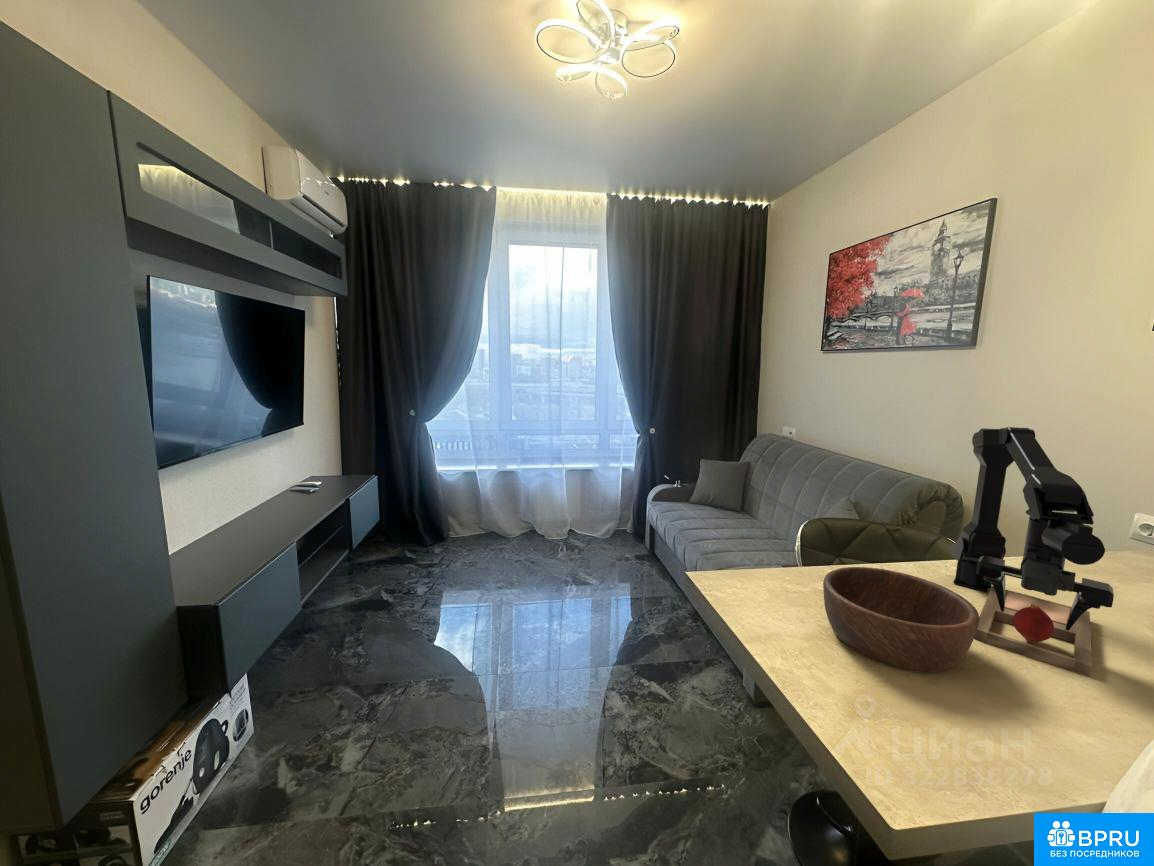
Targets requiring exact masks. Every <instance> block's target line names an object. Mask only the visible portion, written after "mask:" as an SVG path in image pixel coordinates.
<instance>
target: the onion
mask: <svg viewBox="0 0 1154 866" xmlns="http://www.w3.org/2000/svg"><path fill="white" fill-rule="evenodd" d="M1012 626H1014V628H1015V630H1016V632H1018V633H1019V634H1020V635H1021V636H1022V637H1023V638H1024V639H1025V640H1026V642H1027V643H1028V642H1029V643H1031V644H1033V643H1040V642H1044V641H1046V640H1050V638H1051V637H1052V635H1053V633H1054V625H1053V622H1052V620H1051V618H1050V617H1049V616H1048V615H1047V614H1046V613H1045V612H1044V611H1043V610H1042V609H1041V608H1040V607H1039V606H1038V605H1037V604H1034V603H1032V604H1031V607H1026V608H1023V609H1021V610H1019V611H1017V612H1016V613H1015V614H1014V617H1013V625H1012Z"/></svg>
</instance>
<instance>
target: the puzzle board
mask: <svg viewBox="0 0 1154 866" xmlns="http://www.w3.org/2000/svg"><path fill="white" fill-rule="evenodd" d="M1032 603H1034V604H1037V605H1038V606H1039V607H1040V608H1041V609H1042V610H1043V611H1044V612H1045V613H1046V614H1047V615H1048V616H1049V617H1050V618H1051V620H1052V622H1053V625H1054V633H1053V635H1052V636H1051V637H1053V638H1056V639H1058V640H1063V641H1066V642H1070V643H1072V644H1074V645H1073V657H1071V656H1068V655H1065V654H1062V653H1059V652H1055V651H1053V650H1049V649H1046V648H1042V647H1040V646H1037V645H1033V644H1032V643H1031V644H1029V643H1028V642H1024V641H1020V640H1017V639H1014V638H1011V637H1008V636H1005V635H1002V634H999V633H995V632H993V631H991V629H992V626H993V624H994V621H995V620H996V621H999V622H1002V623H1006V624H1010V625H1011V626H1014V625H1013V617H1014V614H1015V613H1016V612H1017V611H1019V610H1021V609H1023V608H1026V607H1031V604H1032ZM1071 608H1072V606H1069V605H1065V604H1062V603H1058V602H1054V601H1052V600H1051V601H1050V600H1048V599H1043V598H1039V597H1036V596H1032V595H1027V594H1024V593H1019V592H1015V591H1013V590H1008V589H1005V608H1004V612H1002V611H1001V609H1000V606H999V602H998V598H997V595H996V592H995V589H994V587H993V585H992V586H991V588H990V590H989V592H988V595H987V598H986V599H985V603H984V604H983V606H982V609H981V612H980V615H979V619H980V620H979V625H978V628H977V631H976V634H975V637H974V639H973V640H978V641H979V642H980V641H981V642H984V643H988V644H990V645H993V646H995V647H999V648H1002V649H1005V650H1009V651H1011V652H1013V653H1017V654H1020V655H1024V656H1026V657H1029V658H1033V659H1036V660H1039V661H1042V662H1044V663H1047V664H1050V665H1053V666H1056V667H1060V668H1063V669H1066V670H1068V671H1072V672H1075V673H1077V674H1080V675H1082V676H1083V675H1084V676H1086V677H1091V674H1092V668H1093V660H1092V659H1093V657H1092V654H1093V653H1092V636H1091V611H1089V610H1087V611H1085V612H1084V613H1083V614H1082V615H1081V616H1080V617H1079V618H1078V620H1077V621H1076V622H1075V623H1074V625H1073V626H1072V627H1071V628H1070V630H1069V631H1068V630H1066V623H1067V619H1068V616H1069V613H1070V610H1071Z"/></svg>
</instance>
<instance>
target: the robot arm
mask: <svg viewBox="0 0 1154 866" xmlns="http://www.w3.org/2000/svg"><path fill="white" fill-rule="evenodd" d="M971 439H972V440H971V443H972V446H973V455H974V456H975V457H976V459H977V460H978V462H979V471H978V476H977V477H978V478H977V484H976V489H975V490H976V491H975V498H974V504H973V510H972V518H971V521H969V523H968V524H966V525H965V526H964V527H963V528H962V530H961V532H960V536H959V537H958V539H957V540H956V541H955V542H954V543H953V544H952V545H951V547H950V555H951V557H953V559H955V560H956V562H957V564H956V568H955V569H956V570H955V577H954V580H953V581H952V583H953V584H954V585H959V586H962V587H965V588H969V589H973V590H977V591H981V592H985V593H987V592H988V591H989V589H991V587H992V586H993V587H994V589H995V592H996V595H997V598H998V602H999V606H1000V609H1001V611H1002V612H1004V608H1005V590H1006V576H1008V577H1013V578H1016V579H1021V581H1020V587H1021V588H1023V589H1024V590H1026V591H1033V592H1038V593H1042V594H1044V595H1046V596H1051V597H1053V596H1057V594H1058V591H1061V592H1070V593H1073V592H1074V593H1076V594H1075V596H1074V600H1073V602H1072V604H1071V607H1072V608H1071V610H1070V613H1069V616H1068V619H1067V623H1066V630H1068V631H1069V630H1070V628H1071V627H1072V626H1073V625H1074V623H1075V622H1076V621H1077V620H1078V618H1079V617H1080V616H1081V615H1082V614H1083V613H1084V612H1085V611H1089V610H1090V609H1092V608H1093V609H1101V607H1105V608H1112V607H1113V604H1114V597H1115V595H1114V588H1113V586H1111V584H1109V583H1107V582H1103V581H1098V580H1094V579H1090V578H1085V577H1082V578H1081V582H1078V581H1076V580H1075V579H1076V574H1077V573H1076V572H1073V571H1069V570H1066V569H1065V565H1066V560H1067V561H1068V562H1070V563H1073V564H1076V565H1079V566H1081V565H1082V566H1087V565H1089V566H1090V565H1093V564H1095V563H1097V562H1099V561H1100V560H1101V559H1102V558H1103V557H1104V555H1105V552H1106V548H1105V545H1104V543H1103V541H1102V540H1101V539H1100V537H1098V536H1096V535H1094V534H1093V531H1094V528H1093V526H1092V525H1094V520H1093V519H1094V518H1093V517H1094V512H1093V510H1092V507H1091V505H1090V504H1089V500H1088V499H1087V495H1086V493H1085V490H1083V488H1082V486H1081V485H1080V484H1079V483H1078V482H1077V481H1076V480H1075V479H1074V478H1073V477H1072V476H1071V475H1068V474H1065V473H1063V472H1062V471H1060V470H1058V469H1057V468H1056V467H1055V466H1054V463H1053V462H1052V461H1051V459H1050V458H1049V456H1048V455H1047V454H1046V452H1045V451H1044V449H1043V447H1042V446H1041V444H1040V443H1039V441H1038V440H1037V439H1036V432H1035V430H1034V429H1032V428H1028V427H1014V426H1006V427H1002V428H983V427H982V428H980V429H979V430H978V431H977V432H974V434H973V436H972V438H971ZM1014 462H1015V463H1014ZM1013 463H1014V464H1015V465H1016V467H1018V469H1019V470H1018V471H1020V473H1021V475H1022V476H1023V478H1024V480H1025V484H1024V487H1023V488H1022V493H1023V499H1024V501H1025V503H1026V505H1027V507H1028V509H1026V511H1025V514H1026V515H1027V516H1029V518H1028V524H1027V530H1026V536H1025V543H1024V549H1023V556H1022V560H1021V564H1020V568H1018V567H1015V566H1011V565H1010V566H1009V565H1006V559H1004V558H1005V555H1006V553H1007V549H1006V542H1007V539H1006V537H1005V536H1003V534H1002V532H1001V531H1000V529H999V527H998V525H999V520H1000V519H999V518H1000V513H1001V505H1002V499H1003V494H1004V487H1005V481H1006V474H1007V469H1008V468H1009V466H1011V465H1012V464H1013ZM1090 525H1091V526H1090Z"/></svg>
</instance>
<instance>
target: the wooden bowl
mask: <svg viewBox="0 0 1154 866" xmlns="http://www.w3.org/2000/svg"><path fill="white" fill-rule="evenodd" d="M822 585H823V586H822V587H823V588H822V589H823V602H824V609H825V614H826V617H827V620H828V622H829V625H830V626H831V628H832V630H833V632H834V633H835V635H836V636H837V637H838V638H839V639H840V641H842V642H843V643H844V644H845V645H847V647H849V648H850V649H851V650H853V651H855V652H856V653H858V654H860V655H862V656H864V657H866V658H868V659H870V660H872V661H875V662H877V663H879V664H883V665H886V666H889V667H891V668H896V669H899V670H904V671H908V672H909V671H910V672H915V673H916V672H917V673H937V672H943V671H946V670H949V669H952V668H953V667H954V666H956V665H957V664H959V662H960V661H961V660H962V659H963V658H965V656H966V654H968V652H969V650H970V648H971V646H972V645H973V644H972V643H973V642H974V640H975V639H974V637H975V634H976V631H977V628H978V625H979V620H980V619H979V616H980V615H979V612H978V610H977V608H975V606H974V605H973V604H972V603H971V602H970V601H968V600H967V599H966V598H965V597H963V596H962V595H960V594H959V593H957V592H955V591H953V590H951V589H949V588H948V587H946V586H945V587H944V586H942V585H940V584H938V583H936V582H933V581H930V580H927V579H924V578H921V577H918V576H914V575H912V574H908V573H904V572H900V571H895V570H890V569H883V568H876V567H865V566H851V567H849V566H848V567H841V568H837V569H833V570H832V571H829V572H827V573H826V574H825V576H824V578H823V584H822Z"/></svg>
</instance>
